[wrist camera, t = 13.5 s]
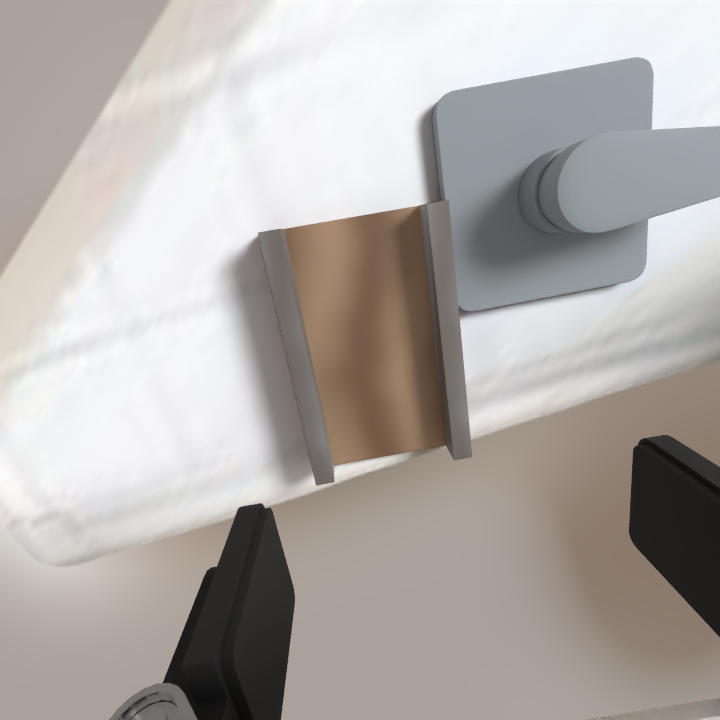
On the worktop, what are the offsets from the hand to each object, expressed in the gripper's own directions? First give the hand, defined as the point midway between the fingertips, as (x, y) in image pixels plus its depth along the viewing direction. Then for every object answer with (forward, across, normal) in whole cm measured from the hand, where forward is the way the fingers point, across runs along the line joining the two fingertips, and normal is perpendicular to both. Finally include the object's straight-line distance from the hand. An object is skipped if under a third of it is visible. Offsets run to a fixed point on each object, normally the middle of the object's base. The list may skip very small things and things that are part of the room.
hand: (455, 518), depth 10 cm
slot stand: (+18, +1, 0) cm, 18 cm away
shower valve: (+15, -20, -8) cm, 26 cm away
